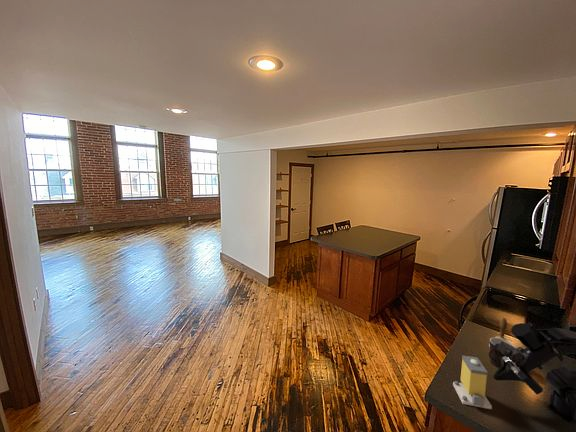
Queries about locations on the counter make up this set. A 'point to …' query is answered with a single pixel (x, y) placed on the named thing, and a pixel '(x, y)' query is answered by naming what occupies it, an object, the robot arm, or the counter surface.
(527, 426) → the counter surface
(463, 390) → the base
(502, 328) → the hand bell
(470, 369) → the yellow block on base
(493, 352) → the coffee mug
